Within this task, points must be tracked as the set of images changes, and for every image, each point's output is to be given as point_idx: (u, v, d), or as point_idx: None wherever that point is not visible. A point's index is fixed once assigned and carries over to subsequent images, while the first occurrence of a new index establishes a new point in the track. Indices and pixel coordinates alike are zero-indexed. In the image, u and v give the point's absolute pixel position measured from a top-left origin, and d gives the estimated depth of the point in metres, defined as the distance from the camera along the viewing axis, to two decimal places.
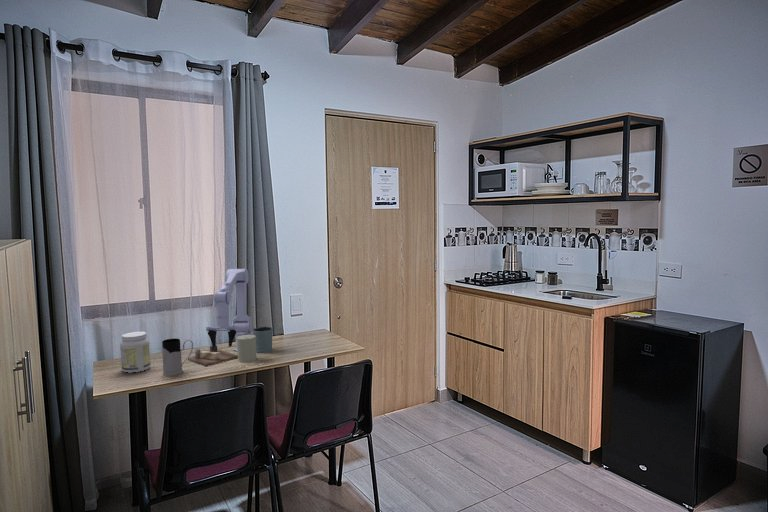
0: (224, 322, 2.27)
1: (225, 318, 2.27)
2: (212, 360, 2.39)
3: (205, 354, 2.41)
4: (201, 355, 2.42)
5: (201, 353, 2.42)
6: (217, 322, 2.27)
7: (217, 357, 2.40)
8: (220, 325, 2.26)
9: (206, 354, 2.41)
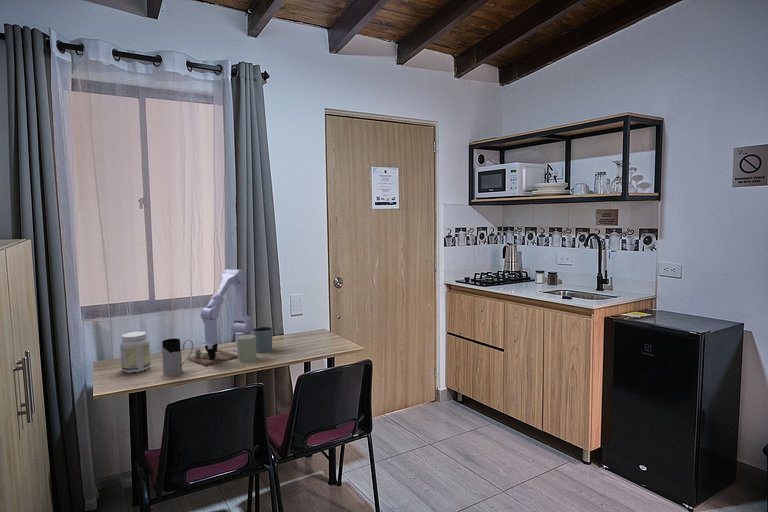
0: (205, 338, 2.34)
1: (206, 334, 2.34)
2: (212, 360, 2.39)
3: (205, 354, 2.41)
4: (201, 355, 2.42)
5: (201, 353, 2.42)
6: None
7: (217, 357, 2.40)
8: None
9: (206, 354, 2.41)
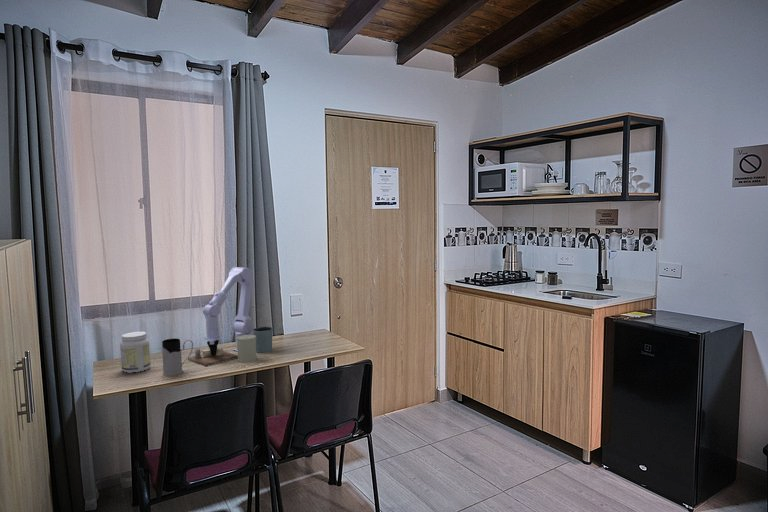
0: (207, 334, 2.42)
1: (208, 330, 2.41)
2: (212, 360, 2.39)
3: (209, 352, 2.45)
4: (204, 354, 2.44)
5: (204, 351, 2.44)
6: None
7: None
8: None
9: (210, 352, 2.45)
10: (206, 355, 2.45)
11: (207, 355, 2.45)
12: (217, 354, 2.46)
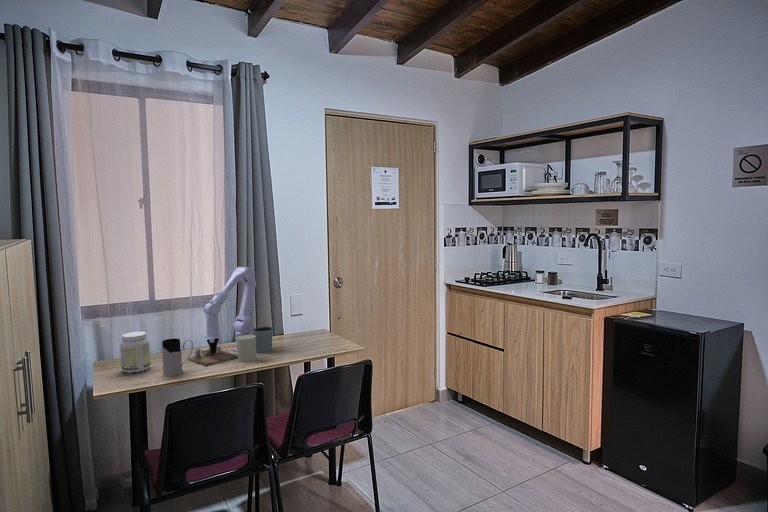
0: (207, 332, 2.45)
1: (208, 328, 2.45)
2: (212, 360, 2.39)
3: (209, 350, 2.48)
4: (204, 353, 2.46)
5: (204, 350, 2.46)
6: None
7: None
8: None
9: None
10: (206, 354, 2.47)
11: (207, 354, 2.47)
12: None
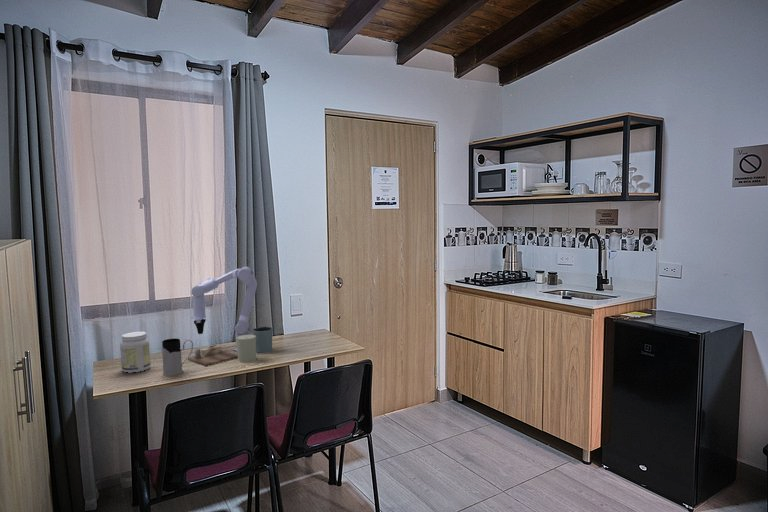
0: (194, 313, 2.53)
1: (195, 310, 2.53)
2: (212, 360, 2.39)
3: (209, 350, 2.48)
4: (204, 353, 2.46)
5: (204, 350, 2.46)
6: None
7: None
8: None
9: (210, 350, 2.48)
10: (206, 354, 2.47)
11: (207, 354, 2.47)
12: (215, 352, 2.51)
